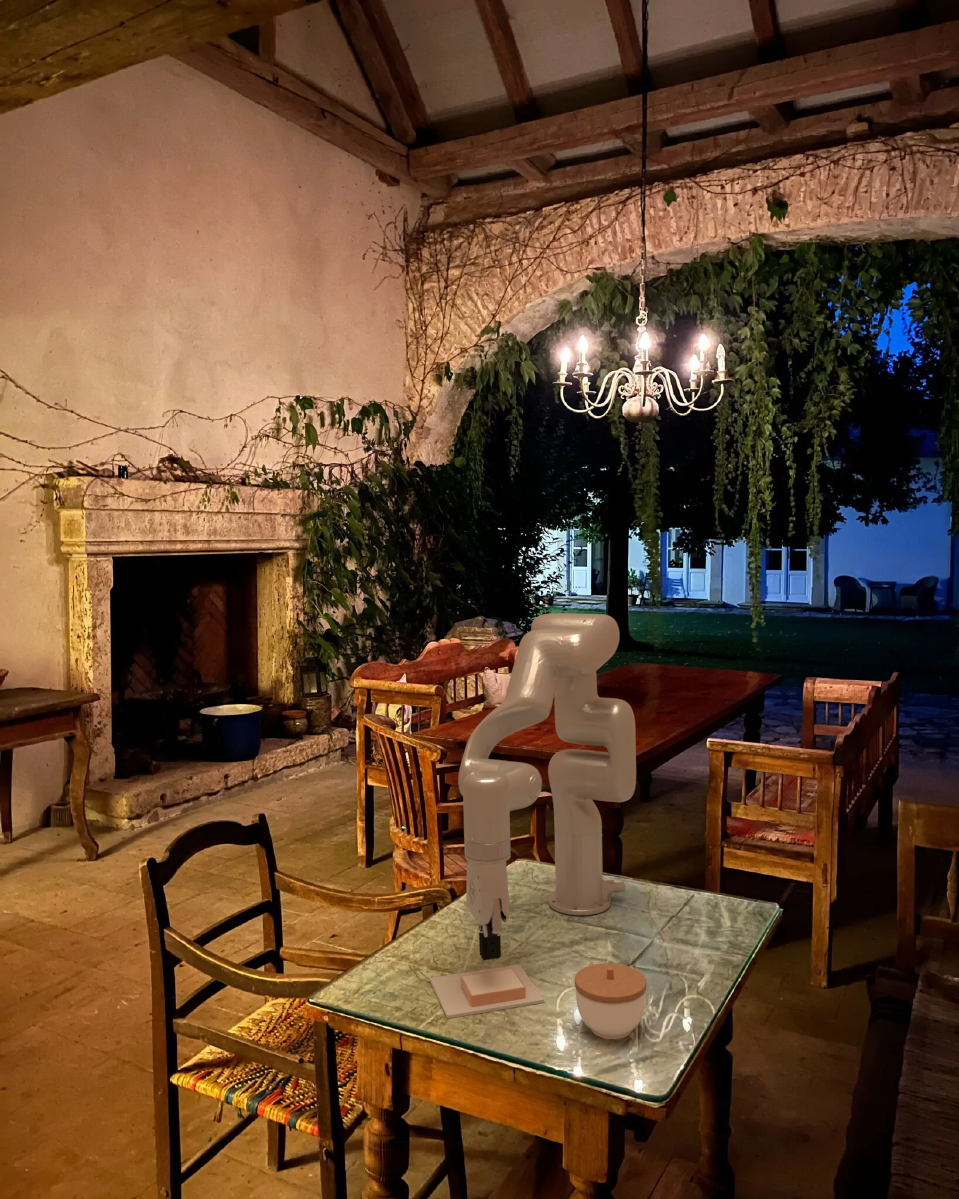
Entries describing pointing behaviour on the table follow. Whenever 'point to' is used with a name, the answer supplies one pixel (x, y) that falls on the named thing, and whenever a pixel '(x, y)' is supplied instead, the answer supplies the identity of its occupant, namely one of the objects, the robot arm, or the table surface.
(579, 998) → the lidded jar
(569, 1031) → the table surface
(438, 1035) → the table surface
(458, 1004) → the mat
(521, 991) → the block
